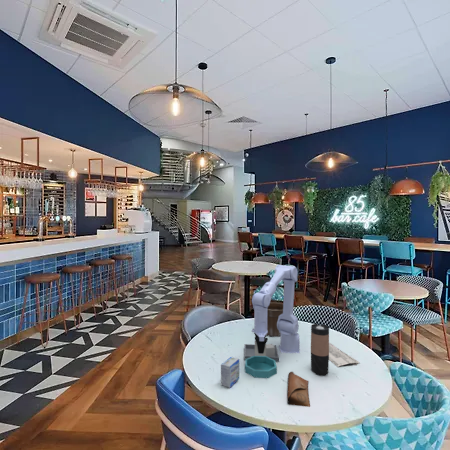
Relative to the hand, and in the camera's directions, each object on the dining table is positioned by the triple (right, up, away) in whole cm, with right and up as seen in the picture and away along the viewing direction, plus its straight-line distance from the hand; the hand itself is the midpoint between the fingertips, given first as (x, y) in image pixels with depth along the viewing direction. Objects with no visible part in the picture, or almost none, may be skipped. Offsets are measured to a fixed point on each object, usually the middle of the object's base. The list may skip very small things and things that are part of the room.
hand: (260, 350), depth 126 cm
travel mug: (+26, -9, -1) cm, 28 cm away
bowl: (0, -9, 0) cm, 9 cm away
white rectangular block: (0, -1, 0) cm, 1 cm away
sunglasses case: (+13, -10, -15) cm, 22 cm away
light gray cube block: (+6, -8, +14) cm, 17 cm away
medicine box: (-14, -9, -9) cm, 19 cm away
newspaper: (+39, -10, +16) cm, 43 cm away
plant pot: (+13, -8, +42) cm, 45 cm away
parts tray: (+2, -9, +14) cm, 17 cm away
